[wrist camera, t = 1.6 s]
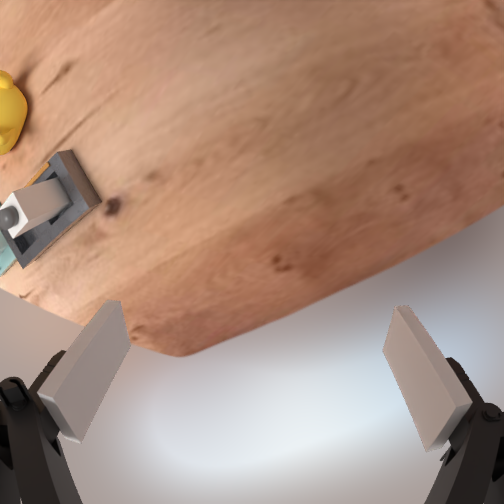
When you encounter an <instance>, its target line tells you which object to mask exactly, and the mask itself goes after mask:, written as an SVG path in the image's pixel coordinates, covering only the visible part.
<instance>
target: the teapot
mask: <svg viewBox="0 0 504 504" xmlns="http://www.w3.org/2000/svg"><path fill="white" fill-rule="evenodd" d="M27 111H28V106H27V102H26V99H25V97H24V96H23V94H22V93H21V91H20V90H19V89H18V88H17V87H16V86H15V85H13V80H12V77H11V76H10V75H9V74H8V73H7V72H5V71H2V70H0V155H3V154H6V153H7V152H9V151H10V150H11V149H12V147H13V146H14V145H15V143H16V141H17V139H18V137H19V135H20V133H21V130H22V128H23V125H24V122H25V119H26V115H27Z"/></svg>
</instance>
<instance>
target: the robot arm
mask: <svg viewBox="0 0 504 504" xmlns="http://www.w3.org/2000/svg"><path fill="white" fill-rule="evenodd" d="M130 347H131V344H130V340H129V336H128V332H127V328H126V323H125V319H124V315H123V310H122V306H121V301H115V300H107V301H106V302H105V303H104V304H103V305H102V307H101V308H100V309H99V310H98V312H97V313H96V314H95V315H94V317H93V318H92V319H91V320H90V322H89V323H88V324H87V325H86V327H85V328H84V329H83V330H82V332H81V333H80V334H79V336H78V337H77V338H76V340H75V341H74V342H73V344H72V345H71V346H70V347H69V349H68V350H67V351H64V350H61V351H60V352H59V353H57V354H56V355H54V356H53V357H52V358H51V360H50V361H49V362H48V364H47V366H45V368H44V369H43V372H41V373H40V375H39V376H38V377H37V378H36V380H35V381H34V382H33V384H32V385H31V387H30V388H29V389H27V388H26V386H25V384H24V382H23V381H22V380H21V379H20V378H18V377H9V378H7V379H4V380H3V381H2V382H0V400H1V401H0V504H21V503H20V497H21V501H22V504H83V503H82V501H81V499H80V496H79V494H78V491H77V489H76V487H75V484H74V481H73V479H72V476H71V473H70V471H69V468H68V465H67V462H66V459H65V457H64V453H63V450H62V447H61V444H60V441H59V439H58V437H57V435H58V433H59V431H61V432H62V434H63V435H64V437H65V438H66V439H68V440H71V441H74V442H77V443H82V441H83V439H84V436H85V434H86V432H87V430H88V428H89V426H90V424H91V422H92V420H93V418H94V416H95V414H96V412H97V410H98V408H99V406H100V404H101V402H102V400H103V398H104V396H105V394H106V392H107V390H108V388H109V386H110V384H111V382H112V380H113V379H114V377H115V374H116V373H117V371H118V369H119V367H120V365H121V363H122V362H123V360H124V358H125V356H126V354H127V352H128V350H129V349H130ZM383 353H384V355H385V357H386V359H387V361H388V363H389V366H390V368H391V370H392V372H393V374H394V377H395V379H396V381H397V383H398V386H399V388H400V390H401V392H402V395H403V397H404V399H405V402H406V404H407V406H408V409H409V411H410V413H411V416H412V418H413V421H414V423H415V425H416V428H417V430H418V433H419V435H420V438H421V441H422V443H423V446H424V448H425V451H426V452H429V451H432V450H436V449H439V448H442V447H443V445H444V444H445V443H446V441H447V440H448V439H449V441H450V444H451V446H450V448H449V449H448V450H447V451H446V453H445V454H444V455H443V456H442V458H441V459H440V461H442V460H443V459H444V458H445V459H444V461H443V464H442V466H441V469H440V471H439V473H438V476H437V478H436V480H435V483H434V485H433V487H432V489H431V491H430V493H429V495H428V497H427V500H426V501H425V503H424V504H483V503H484V504H504V412H502V411H501V409H500V408H498V406H496V405H494V404H492V403H485V402H484V401H483V399H482V397H481V396H480V394H479V393H478V391H477V389H476V388H475V387H474V385H473V383H472V382H471V381H470V380H469V377H468V376H467V374H465V371H464V370H463V368H462V367H461V365H460V364H459V363H458V362H457V361H455V360H454V359H453V358H451V357H450V358H445V357H444V356H443V354H442V353H441V351H440V350H439V348H438V347H437V345H436V344H435V342H434V341H433V339H432V338H431V336H430V335H429V334H428V332H427V331H426V329H425V328H424V326H423V325H422V324H421V322H420V321H419V319H418V318H417V317H416V315H415V314H414V312H413V311H412V310H411V308H410V307H409V306H408V305H404V306H395V307H394V311H393V315H392V319H391V323H390V326H389V330H388V334H387V337H386V341H385V345H384V348H383Z"/></svg>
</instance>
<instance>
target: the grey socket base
mask: <svg viewBox="0 0 504 504" xmlns="http://www.w3.org/2000/svg"><path fill="white" fill-rule="evenodd" d="M57 177H59V179H60V181H61V183H62V184H63V186H64V188H65V190H66V191H67V193H68V195H69V196H70V198H71V200H72V202H73V203H72V204H71V205H70V206H69V207H68V208H67V209H65V210H64V211H63V212H62V213H61V214H59V215H57V216H55V217H53V218H51V219H49V220H47V221H45V222H43V223H41V224H39V225H38V226H36V227H34V228H32V229H30V230H28V231H26V232H24V233H23V234H21V235H19V236H17V237H15V238H14V239H13V238H12V236H11V235H10V233H9V231H8V230H4V229H2V228H1V226H0V231H1V232H2V234H3V236H4V238H5V240H6V241H7V243H8V245H9V247H10V248H11V250H12V252H13V253H14V255H15V257H16V258H17V260H18V262H19V263H20V265H21V267H22V268H23V269H24V268H25V267H27V266H28V265H29V264H31V263H32V262H34V261H35V260H36V259H37V258H38V257H39V256H40V255H41V254H42V253H43V252H45V251H46V250H47V249H48V248H49V247H50V246H51V245H52V244H53V243H54V242H55V241H56V240H58V239H59V238H60V237H61V236H62V235H63V234H64V233H65V232H67V231H68V230H69V229H70V228H71V227H72V226H73V225H75V224H76V223H77V222H78V221H79V220H80V219H82V218H83V217H84V216H85V215H86V214H88V213H89V212H90V211H91V210H93V209H94V208H95V207H96V206H97V205H99V204H100V203H101V200H100V199H99V197H98V195H97V194H96V192H95V190H94V189H93V187H92V185H91V184H90V182H89V180H88V178H87V177H86V175H85V173H84V172H83V170H82V168H81V166H80V165H79V163H78V161H77V159H76V157H75V156H74V154H73V152H72V150H66V151H60V152H57V153H56V154H55V155H54V156H53V157H52V158H51V159H50V160H49V161H48V162H47V163H46V164H45V165H44V166H43V167H42V168H41V169H40V170H39V171H38V172H37V174H36V175H35V176H34V177H33V178H32V179H31V180H30V181H29V183H28V184H27V185H26V186H25V187H28V186H31V185H34V184H37V183H40V182H43V181H47V180H50V179H53V178H57ZM25 187H24V188H25Z"/></svg>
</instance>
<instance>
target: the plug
mask: <svg viewBox="0 0 504 504" xmlns="http://www.w3.org/2000/svg"><path fill="white" fill-rule="evenodd" d="M7 246H8V243H7V241H6V240H5V238H4V236H3V234H2V232H1V231H0V255H1V253H2V252H3V251H4V250H5V248H6V247H7Z"/></svg>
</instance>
